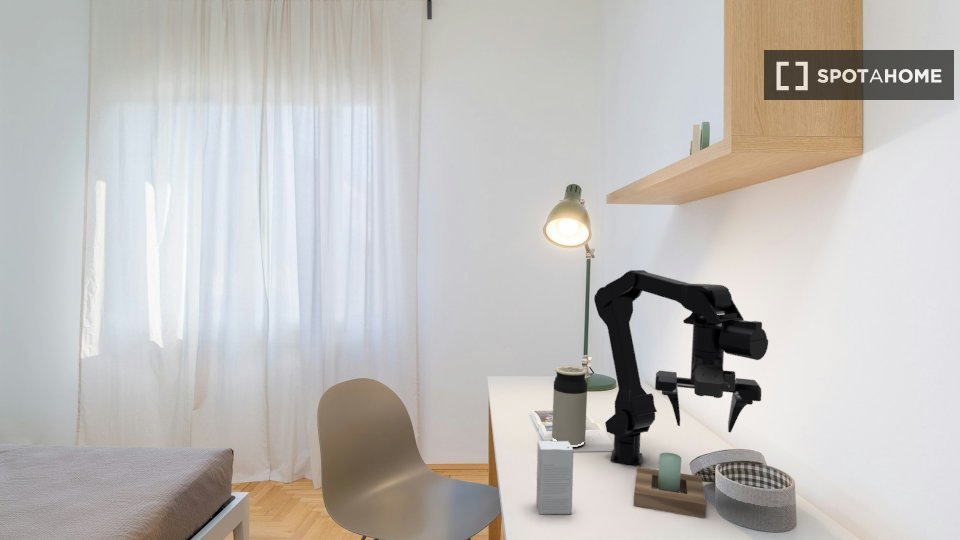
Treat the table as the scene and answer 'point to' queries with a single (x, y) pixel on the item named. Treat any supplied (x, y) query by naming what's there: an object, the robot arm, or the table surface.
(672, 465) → the green peg
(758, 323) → the robot arm
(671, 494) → the walnut holder
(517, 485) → the table surface
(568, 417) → the travel mug
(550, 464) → the skincare box
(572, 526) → the table surface
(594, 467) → the table surface
